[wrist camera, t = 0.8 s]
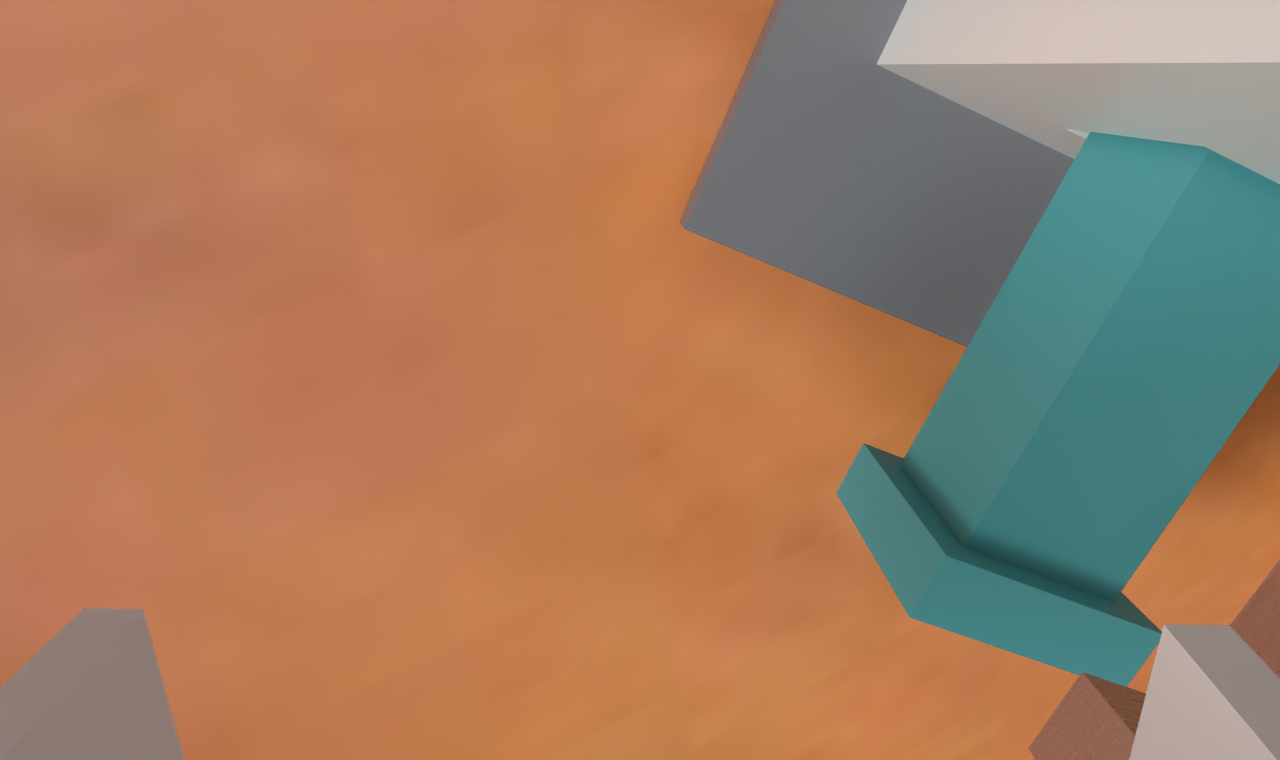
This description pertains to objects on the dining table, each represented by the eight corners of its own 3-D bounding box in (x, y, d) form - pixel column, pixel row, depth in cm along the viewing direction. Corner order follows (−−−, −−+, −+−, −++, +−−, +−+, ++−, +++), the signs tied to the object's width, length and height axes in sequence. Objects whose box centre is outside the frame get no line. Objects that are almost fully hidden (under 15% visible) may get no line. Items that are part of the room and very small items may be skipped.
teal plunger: (1007, 555, 24) (1123, 690, 19) (836, 492, 23) (909, 617, 18) (1302, 93, 20) (1552, 103, 15) (1111, -8, 19) (1308, -36, 14)
